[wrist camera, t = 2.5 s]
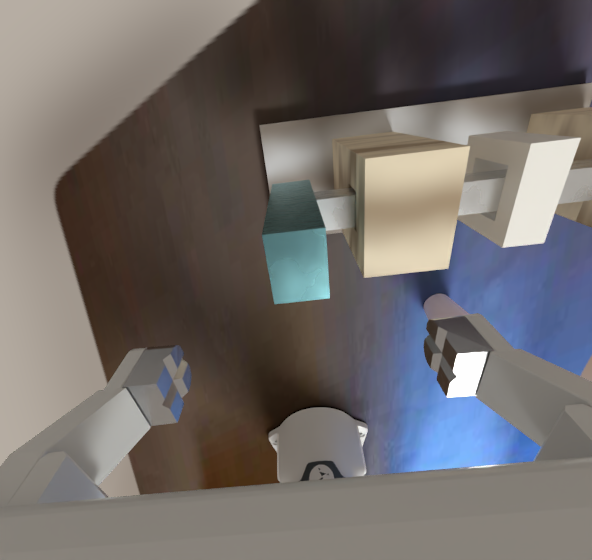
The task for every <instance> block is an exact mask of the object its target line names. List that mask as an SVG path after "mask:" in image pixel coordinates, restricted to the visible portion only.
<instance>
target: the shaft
mask: <svg viewBox="0 0 592 560" xmlns="http://www.w3.org/2000/svg"><path fill="white" fill-rule="evenodd" d="M507 170H508V169H501V170H493V171H485V172H476V173H468V174H465V178H464V184H463V189H462V195H461V200H460V206H459V212H458V216H459V215H468V214H476V213H485V212H494V211H497V210H498V206H499V202H500V198H501V194H502V190H503V186H504V182H505V178H506V174H507ZM589 200H592V159H585V160H577V161H573V162H572V165H571V168H570V171H569V174H568V176H567V179H566V182H565V185H564V188H563V191H562V193H561V196H560V199H559V202H558V204H563V203H572V202H581V201H589ZM354 227H356V191H355V190H354V189H353V188H352V187H351V188H342V189H334V190H326V191H317V192H313V189H312V186H311V183H310V180H303V181H294V182H286V183H278V184H272V188H271V193H270V198H269V203H268V208H267V212H266V217H265V222H264V227H263V232H262V238H263V243H264V249H265V254H266V260H267V265H268V271H269V276H270V282H271V287H272V293H273V298H274V304H281V303H291V302H300V301H309V300H319V299H328V298H330V291H329V275H328V259H327V242H326V231H328V230H337V229H346V228H354Z"/></svg>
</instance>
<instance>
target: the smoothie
mask: <svg viewBox="0 0 592 560" xmlns="http://www.w3.org/2000/svg"><path fill="white" fill-rule="evenodd" d="M424 311H425V313H426V315H427V317H428V320H429V319H436V318H445V317H454V316H462V315H469V313H468V312H466V311H465V310H464V309H463V308H461V307H460V306H459V305H458V304H457V303H455V302H454V301H453V300H452V299H450V298H449V297H448V296H447V295H445V294H435V295H432V296H431V297H429V298H428V299H427V300H426V301H425V303H424Z"/></svg>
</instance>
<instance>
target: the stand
mask: <svg viewBox="0 0 592 560" xmlns="http://www.w3.org/2000/svg"><path fill="white" fill-rule="evenodd" d="M591 100H592V83H584V84H577V85H569V86H561V87H553V88H545V89H537V90H529V91H522V92H514V93H506V94H498V95H490V96H482V97H475V98H467V99H459V100H451V101H443V102H435V103H428V104H420V105H412V106H404V107H396V108H388V109H381V110H373V111H365V112H357V113H349V114H341V115H333V116H326V117H318V118H310V119H302V120H294V121H286V122H279V123H271V124H263V125H259V127H260V133H261V139H262V146H263V152H264V159H265V165H266V172H267V178H268V185H269V191H270V193H271V188H272V184H278V183H286V182H294V181H303V180H310V183H311V186H312V189H313V192H317V191H326V190H334V189H342V188H351V187H352V188H353V189H354V190H355V191H356V227H354V228H346V229H337V230H328V231H326V234H332V233H341V232H343V234H344V236H345V238H346V240H347V242H348V245H349V247H350V249H351V251H352V253H353V255H354V258H355V260H356V262H357V264H358V266H359V268H360V270H361V273H362V275H363V277H364V278H367V277H376V276H385V275H394V274H404V273H413V272H422V271H431V270H440V269H448V267H449V262H450V256H451V251H452V245H453V240H454V234H455V228H456V223H457V217H458V212H459V206H460V200H461V195H462V189H463V184H464V178H465V173H466V167H467V161H468V156H469V150H470V146H468V145H467V144H468V138H469V135H477V134H485V133H493V132H502V131H512V132H523V133H535V134H546V135H558V136H569V137H581V140H580V142H579V145H578V148H577V151H576V154H575V157H574V159H573V161H577V160H585V159H592V108H589V106H590V103H591ZM555 214H558V215H560V216H563V217H565V218H568V219H571V220H573V221H576V222H579V223H581V224H584V225H587V226H589V227H592V200H589V201H581V202H572V203H563V204H558V205H557V208H556V210H555Z"/></svg>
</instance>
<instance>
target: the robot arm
mask: <svg viewBox="0 0 592 560" xmlns="http://www.w3.org/2000/svg"><path fill="white" fill-rule="evenodd" d="M426 329H427V331H428V332H429V335H428V336H427V337H426V338H425V340H424V353H425V357H426V360H427V363H428V364H429V366H430V368H431V369H433V370H434V371H436V372H437V373H438V375H437V381H438V383H439V384H440V386H441V388H442V390H443V392H444V393H445V395H446V397H462V396H476V398H478V399H479V400H480V401H482V402H483V403H484V404H485V405H487V406H488V407H489V408H491V409H492V410H493V411H495V412H496V413H497V414H499V415H500V416H501V417H503V418H504V419H505V420H507V421H508V422H509V423H510V424H512V425H513V426H514V427H516V428H517V429H518V430H520V431H521V432H522V433H524V434H525V435H526V436H528V437H529V438H530V439H531V440H533V441H534V442H535V443H537V444H538V445H539V446H541V448H540V450H539V452H538V453H537V455H536V457H535V458H534V461H533V462H522V463H510V464H499V465H487V466H475V467H463V468H452V469H440V470H428V471H416V472H405V473H393V474H381V475H369V476H364V474H366V466H365V460H364V455H363V450H362V446H363V443H364V440H365V437H366V434H367V432H368V429H367V424H366V423H364V422H361V421H357V420H354V419H353V418H351V417H350V416H349V415H348V414H346V413H344V412H342V411H340V410H337V409H333V408H327V407H315V408H308V409H304V410H301V411H298V412H296V413H294V414H292V415H290V416H289V417H288V418H286V419H285V420H284V422H283V423H282V424H281V425H280V426H279V427H278V428H276V429H274V430H272V431H271V432H269V434H268V435H269V441H270V443H271V444H272V446H273V447H274V449H275V450H276V452H277V476H278V481H280V482H281V483H275V484H263V485H251V486H240V487H228V488H216V489H205V490H193V491H181V492H170V493H158V494H146V495H136V496H135V495H134V496H123V497H111V498H108V496H107V495H106V494H105V493H104V492H103V491H102V490H101V489H100V488H99V487H98V486H99V485H100V484H101V483H102V481H103V480H104V479H105V478H106V477H107V476H108V475H109V473H110V472H111V471H112V470H113V469H114V468H115V467H116V466H117V465H118V463H119V462H120V461H121V460H122V459H123V458H124V456H125V455H127V453H128V452H129V451H130V450H131V449H132V448H133V447H134V446H135V444H136V443H137V442H138V441H139V440H140V439H141V438H142V437H143V436H144V434H145V433H146V432H147V431H148V430H149V429H150V428H151V427H150V426H154V425H163V424H171V423H177V422H178V419H179V416H180V414H181V411H182V408H183V405H184V403H183V401H182V397H183V396H184V395H185V394H186V393H187V392H188V391H189V387H190V384H191V370H190V367H189V364H188V363H187V362H186V361H184V360H183V359H182V357H183V354H184V353H183V351H182V349H181V347H180V346H178V345H173V346H160V347H148V348H138V349H132V350H131V351H129V352H128V354H127V355H126V357H125V358H124V360H123V361H122V363H121V364H120V366H119V367H118V369H117V370H116V372H115V373H114V375H113V376H112V378H111V379H110V381H109V383H108V384H107V386H106V387H105V389H104V390H99V391H97V392H96V393H94V394H93V395H92V396H90V397H89V398H88V399H86V400H85V401H83V402H82V403H81V404H79V405H78V406H76V407H75V408H74V409H72V410H71V411H70V412H68V413H67V414H65V415H64V416H63V417H61V418H60V419H58V420H57V421H56V422H54V423H53V424H52V425H50V426H49V427H47V428H46V429H45V430H43V431H42V432H41V433H39V434H38V435H37V436H35V437H34V438H32V439H31V440H29V441H28V442H27V443H25V444H24V445H23V446H21V447H20V448H18V449H17V450H16V451H14V452H13V453H11V454H10V455H9V456H8V458H7V459H6V460H5V461H4V463H3V464H2V465H1V466H0V560H592V382H591V381H589V380H587V379H585V378H582V377H580V376H578V375H576V374H574V373H572V372H569V371H567V370H565V369H563V368H561V367H558V366H556V365H554V364H552V363H550V362H547V361H545V360H543V359H541V358H539V357H537V356H534V355H532V354H530V353H528V352H526V351H523V350H521V349H514V348H513V347H512V346H511V345H510V344H509V343H508V342H507V341H506V340H505V339H504V338H503V337H502V336H501V335H500V333H499V332H498V331H497V330H496V329H495V328H494V327H493V326H492V325H491V324H490V323H489V322H488V321H487V320H486V319H485V318H484V317H483V316H482V315H480V314H478V313H477V314H469V315H462V316H454V317H445V318H436V319H429V321H428V323H427V328H426Z"/></svg>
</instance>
